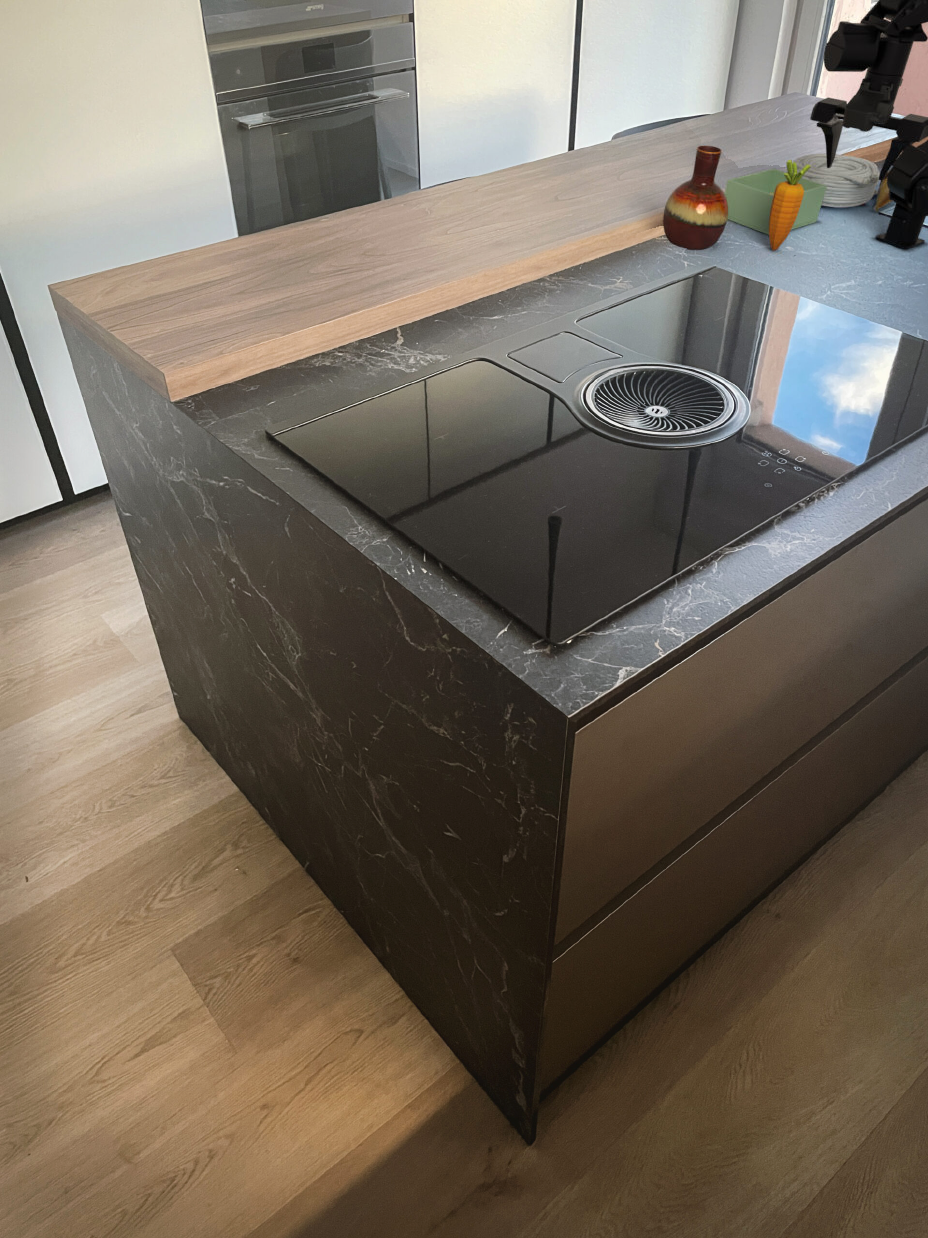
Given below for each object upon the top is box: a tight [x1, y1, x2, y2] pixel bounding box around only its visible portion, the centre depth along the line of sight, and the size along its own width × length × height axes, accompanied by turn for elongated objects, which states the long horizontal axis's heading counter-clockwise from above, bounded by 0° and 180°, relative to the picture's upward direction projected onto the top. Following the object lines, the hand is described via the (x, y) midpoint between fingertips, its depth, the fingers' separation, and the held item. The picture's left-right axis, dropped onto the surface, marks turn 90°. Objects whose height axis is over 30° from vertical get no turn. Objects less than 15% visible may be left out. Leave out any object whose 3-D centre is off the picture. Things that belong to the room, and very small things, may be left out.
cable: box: [792, 153, 881, 208], centre depth 187 cm, size 18×18×6 cm
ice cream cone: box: [872, 169, 893, 213], centre depth 188 cm, size 6×6×15 cm
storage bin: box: [724, 168, 827, 236], centre depth 176 cm, size 14×12×7 cm
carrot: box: [768, 159, 811, 252], centre depth 161 cm, size 5×5×15 cm
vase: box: [662, 145, 728, 251], centre depth 162 cm, size 11×11×15 cm
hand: (854, 173), depth 162 cm, fingers open, 9 cm apart
